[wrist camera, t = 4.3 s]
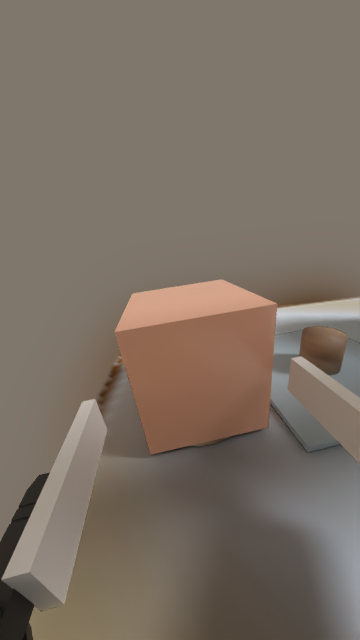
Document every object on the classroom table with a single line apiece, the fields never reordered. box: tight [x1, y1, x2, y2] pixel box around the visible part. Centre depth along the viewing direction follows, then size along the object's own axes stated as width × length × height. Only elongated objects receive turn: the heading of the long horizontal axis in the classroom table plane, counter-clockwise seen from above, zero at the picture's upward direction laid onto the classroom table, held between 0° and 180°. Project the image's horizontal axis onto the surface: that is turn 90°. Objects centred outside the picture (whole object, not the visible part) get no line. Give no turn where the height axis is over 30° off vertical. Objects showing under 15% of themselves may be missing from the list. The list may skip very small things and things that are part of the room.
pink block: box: [115, 279, 277, 454], centre depth 18 cm, size 10×10×11 cm
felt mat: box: [270, 326, 360, 452], centre depth 22 cm, size 16×16×1 cm
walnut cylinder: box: [299, 326, 348, 375], centre depth 21 cm, size 4×4×4 cm
